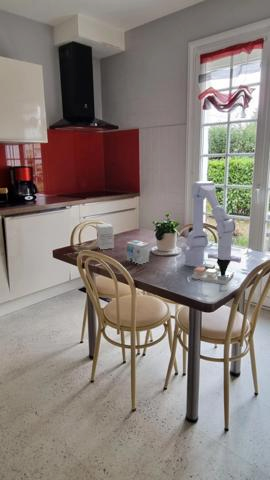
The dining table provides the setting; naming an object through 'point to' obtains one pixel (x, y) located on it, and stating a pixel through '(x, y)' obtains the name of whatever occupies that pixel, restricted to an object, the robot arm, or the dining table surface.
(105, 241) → the supplement box
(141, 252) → the light bulb box
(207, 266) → the grey key
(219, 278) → the slate blue key
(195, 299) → the dining table surface
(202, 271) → the terracotta key
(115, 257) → the dining table surface
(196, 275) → the light grey tray
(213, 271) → the cream key
